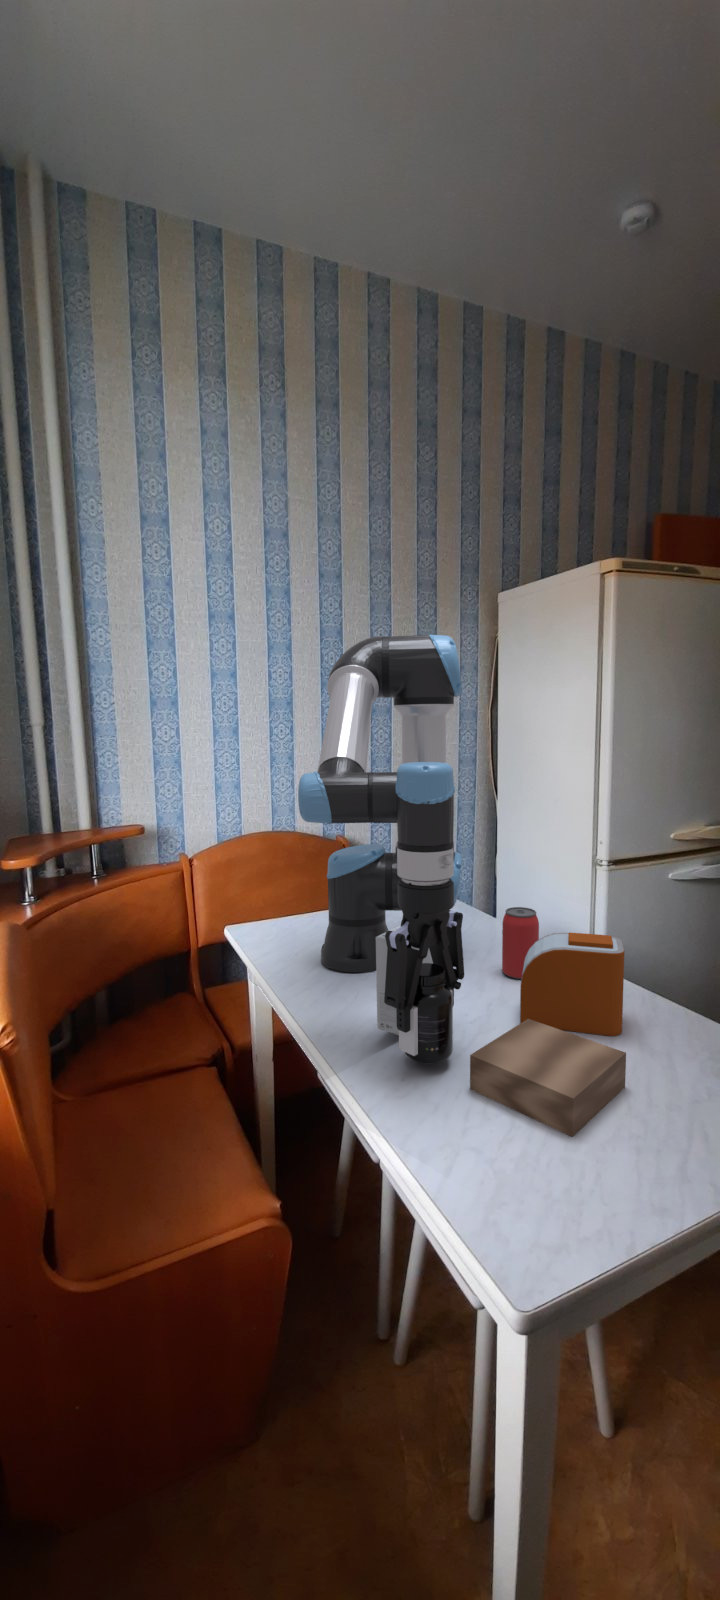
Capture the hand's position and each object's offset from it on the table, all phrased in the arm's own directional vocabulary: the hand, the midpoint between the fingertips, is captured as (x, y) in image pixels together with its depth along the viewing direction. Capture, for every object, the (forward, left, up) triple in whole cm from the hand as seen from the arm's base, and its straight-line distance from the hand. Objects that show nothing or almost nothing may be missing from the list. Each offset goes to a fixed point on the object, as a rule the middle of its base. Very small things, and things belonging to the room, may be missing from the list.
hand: (426, 1041), depth 89 cm
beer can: (-8, +37, -3) cm, 38 cm away
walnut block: (+15, +6, -4) cm, 17 cm away
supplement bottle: (0, 0, -2) cm, 2 cm away
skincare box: (-10, +7, -3) cm, 12 cm away
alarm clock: (+8, +26, -3) cm, 27 cm away
